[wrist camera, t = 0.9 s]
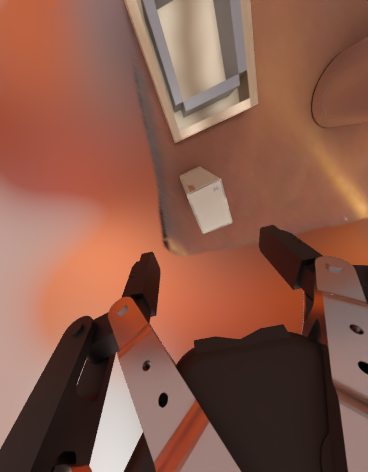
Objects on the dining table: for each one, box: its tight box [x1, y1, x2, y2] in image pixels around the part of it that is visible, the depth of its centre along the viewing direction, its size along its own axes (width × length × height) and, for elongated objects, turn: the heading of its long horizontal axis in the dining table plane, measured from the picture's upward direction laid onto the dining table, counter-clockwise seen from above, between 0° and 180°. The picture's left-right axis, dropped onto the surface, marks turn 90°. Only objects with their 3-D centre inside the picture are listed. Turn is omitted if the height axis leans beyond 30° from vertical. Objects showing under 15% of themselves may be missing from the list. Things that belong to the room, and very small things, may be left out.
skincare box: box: [180, 166, 232, 234], centre depth 22 cm, size 6×4×12 cm
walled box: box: [124, 0, 258, 144], centre depth 17 cm, size 12×16×4 cm
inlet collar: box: [141, 0, 247, 118], centre depth 16 cm, size 9×11×4 cm
